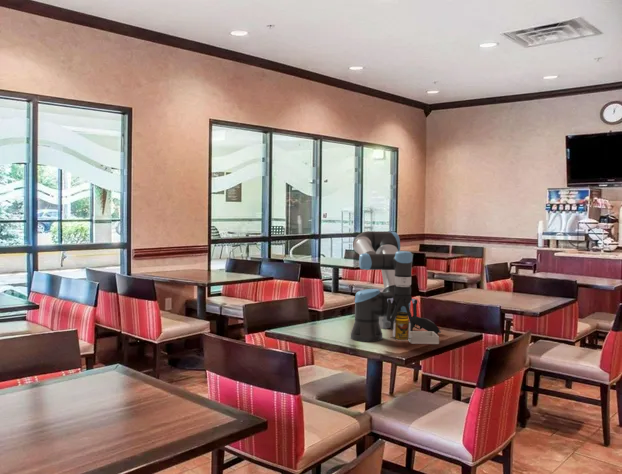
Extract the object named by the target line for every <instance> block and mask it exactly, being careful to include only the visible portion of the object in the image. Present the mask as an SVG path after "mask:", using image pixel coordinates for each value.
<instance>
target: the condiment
mask: <svg viewBox="0 0 622 474" xmlns="http://www.w3.org/2000/svg"><path fill="white" fill-rule="evenodd" d="M409 322H410V321H409V317H408V313H407V312H397V314H396V319H395V323H396V324H395V337H393V336H389V337H388V338H389V339H391V340H397V341H401V342H406V341H408V340H409V339H412V338H408V331H409Z"/></svg>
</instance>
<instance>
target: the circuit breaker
mask: <svg viewBox="0 0 622 474" xmlns="http://www.w3.org/2000/svg"><path fill="white" fill-rule="evenodd" d="M390 318H391V317H390ZM395 319H396V317H395ZM394 322H395V320H394ZM379 324H380V328H381V330H382V329H384V330H387V329H389V328H390V326H391V322H390V321H388V320H387V317H379ZM390 329H391V328H390Z"/></svg>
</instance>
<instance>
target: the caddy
mask: <svg viewBox="0 0 622 474" xmlns="http://www.w3.org/2000/svg"><path fill="white" fill-rule="evenodd" d="M408 338H412V339H409V340H407V341H408V342H409V343H410V344H413V345H414V344H415V345H418V344H419V345H420V344H421V345H439V344H440V336H439V335H438V334H436V333H435V332H434V331H427V330H413V331H410V337H408Z"/></svg>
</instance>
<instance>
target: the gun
mask: <svg viewBox="0 0 622 474" xmlns="http://www.w3.org/2000/svg"><path fill="white" fill-rule="evenodd" d="M411 316H412V319H413V315H411ZM414 328H415V329H417V330H422V329H424V331H434V332H435V333H436V334H437V335H438V334H441V333H442V330H440V328H439V326H438V325H437V324H435V322H433V321H431V320H430V319H428V318H425V317H421V316H417V321H415V322H413V329H412V330H410V331H414Z"/></svg>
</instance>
